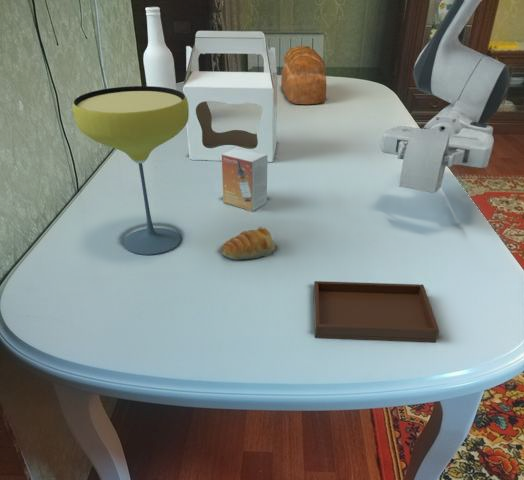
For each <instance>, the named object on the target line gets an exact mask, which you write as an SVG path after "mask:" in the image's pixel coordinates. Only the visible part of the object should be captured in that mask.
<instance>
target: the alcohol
mask: <svg viewBox="0 0 524 480" xmlns="http://www.w3.org/2000/svg"><path fill="white" fill-rule="evenodd" d="M160 10H161V8H160V7H158V6H148V7H147V6H146V7H145V15H146V25H147V26H146V27H147V47H146V49H145V50H144V52H143V57H142V59H143V61H142V62H143V68H144V76H145V82H146V84H145V85H146V86H154V87H164V88H170V89H175V90H178V89H177V80H176V69H175V60H174V56H173V53H172V52H171V50H170V48H168V46H167V45H166V42H165V36H164V31H163V24H162V18H161V11H160Z"/></svg>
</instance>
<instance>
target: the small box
mask: <svg viewBox="0 0 524 480" xmlns="http://www.w3.org/2000/svg"><path fill="white" fill-rule="evenodd" d="M267 157H268V156H267V154H260V153H256V152H251V151H247V150H243V149H240V148H236V149H233V150H231V151H228V152H226V153H224V154H222V161H221V176H222V178H221V179H222V200H223V201H222V203H224V204H227V205H232V206H235V207H237V208H241V209H243V210H246V211H250V212H254V211H255V210H257V209H259V208H260V207H262V206H264V205H266V204H267V202H268V162H267Z"/></svg>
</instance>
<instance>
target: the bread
mask: <svg viewBox="0 0 524 480" xmlns="http://www.w3.org/2000/svg"><path fill="white" fill-rule="evenodd" d="M325 72H326V66H325V61H324V59H323V57H322V56H320V54H319V53H318V52H317V50H315V49H313V48H311V47H310V46H308V45H307V46H306V45H297V46H295V47H291V48H290V49H289V50H287V51H286V54H285V55H284V57H283V68H282V70H281V76H280V78H281V81H280V82H281V85H280V86H281V89H282V92H283V94H284V95H285V98H286V99H287V100H288V102H289V103H292V104H293V105H318V104H322V103H325V100H326V98H327V76H326V74H325Z"/></svg>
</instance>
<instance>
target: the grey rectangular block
mask: <svg viewBox="0 0 524 480" xmlns="http://www.w3.org/2000/svg"><path fill="white" fill-rule="evenodd" d="M417 128H418V127H413V128H412V129H411V133H410V137H409V140H408V144H407V147H406V150H405V154H404V159H402V160H403V161H402V166H401V173H400V177H399V184H398V187H400V188H404V189H409V190H414V191H420V192H423V193H429V194H433V195H435V194H436V193H437V192H438V191H439V190H440V189H441V188H442V185H443V180H444V174H445V170H446V166H443V162H444V156H445V155H446V154H448V147H449V137H450V133H443V132H437V131H430V130H424V129H423V128H421V129H417Z"/></svg>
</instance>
